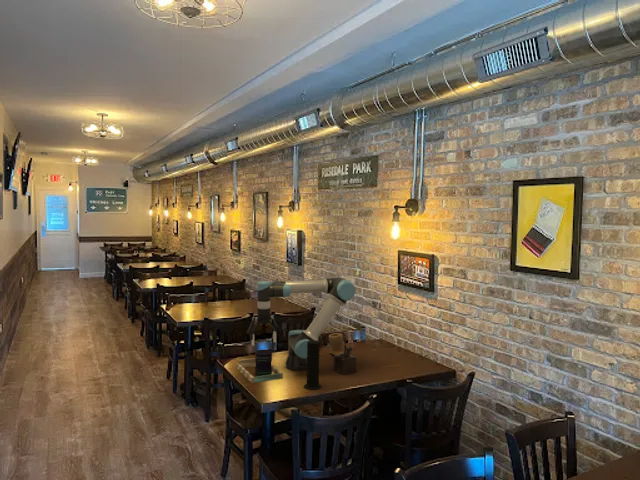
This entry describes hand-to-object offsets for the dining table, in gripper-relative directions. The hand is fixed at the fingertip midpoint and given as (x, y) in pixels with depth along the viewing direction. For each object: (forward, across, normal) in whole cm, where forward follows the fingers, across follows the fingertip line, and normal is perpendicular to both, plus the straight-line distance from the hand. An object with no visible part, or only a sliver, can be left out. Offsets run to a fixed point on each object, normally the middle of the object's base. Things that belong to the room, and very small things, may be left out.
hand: (263, 343), depth 278 cm
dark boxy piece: (+20, -48, +14) cm, 54 cm away
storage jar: (+20, 0, 0) cm, 20 cm away
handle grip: (+20, -19, +27) cm, 38 cm away
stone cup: (+21, -61, -18) cm, 67 cm away
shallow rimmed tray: (+20, 0, -7) cm, 21 cm away
